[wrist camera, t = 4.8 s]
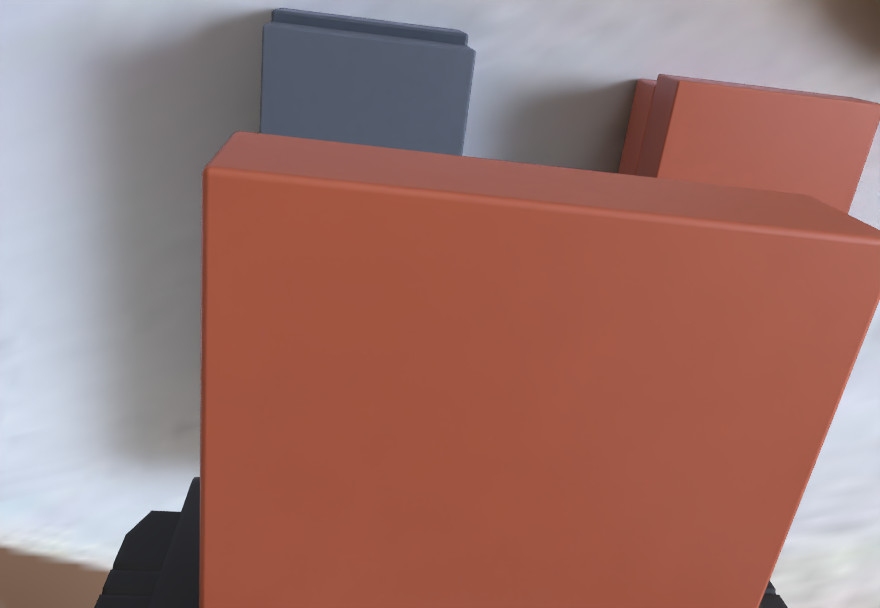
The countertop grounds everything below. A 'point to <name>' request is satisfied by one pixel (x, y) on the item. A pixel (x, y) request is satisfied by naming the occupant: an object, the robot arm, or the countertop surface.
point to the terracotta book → (509, 379)
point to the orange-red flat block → (749, 137)
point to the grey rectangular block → (365, 81)
